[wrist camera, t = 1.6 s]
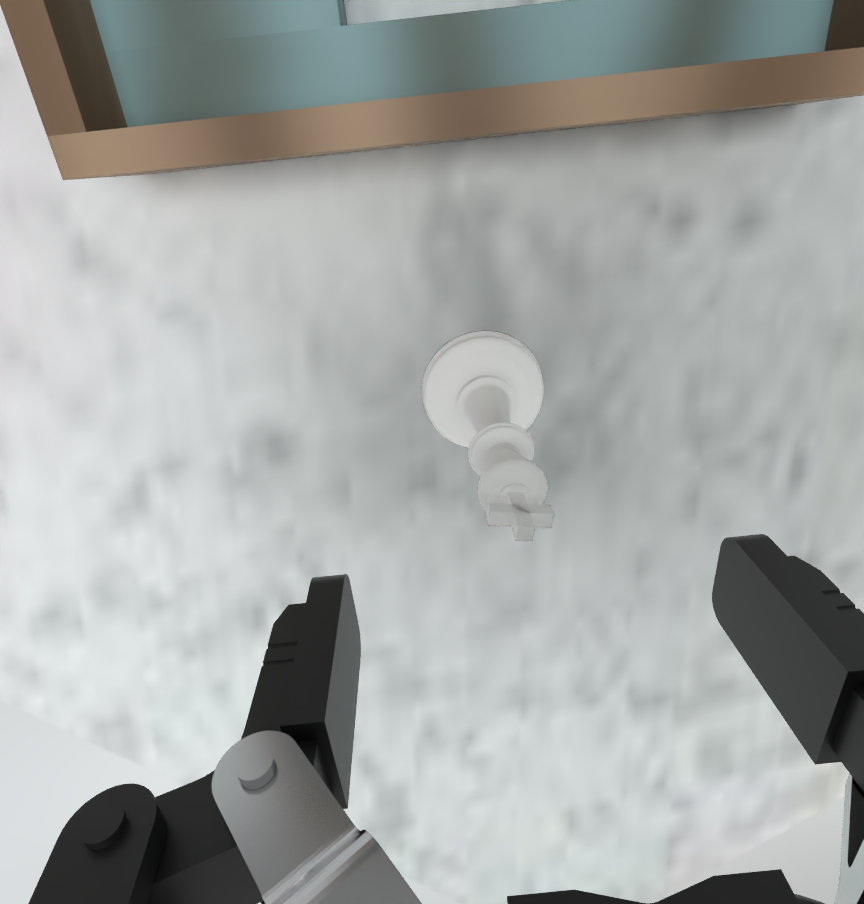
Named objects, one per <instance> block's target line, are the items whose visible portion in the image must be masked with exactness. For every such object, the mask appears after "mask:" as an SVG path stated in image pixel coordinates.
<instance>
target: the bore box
mask: <svg viewBox="0 0 864 904" xmlns="http://www.w3.org/2000/svg"><path fill="white" fill-rule="evenodd" d="M0 5H1V8H2V11H3V14H4V16H5V19H6V22H7V25H8V28H9V30H10V33H11V36H12V39H13V42H14V44H15V47H16V50H17V53H18V56H19V58H20V61H21V64H22V67H23V70H24V72H25V75H26V78H27V81H28V84H29V86H30V89H31V92H32V95H33V98H34V100H35V103H36V106H37V109H38V112H39V114H40V117H41V120H42V123H43V126H44V128H45V131H46V134H47V137H48V140H49V142H50V145H51V148H52V151H53V154H54V156H55V159H56V162H57V165H58V168H59V170H60V173H61V176H62V179H63V180H70V179H85V178H100V177H115V176H130V175H144V174H153V173H163V172H172V171H181V170H190V169H200V168H209V167H218V166H228V165H237V164H246V163H255V162H265V161H274V160H283V159H292V158H302V157H311V156H320V155H330V154H339V153H348V152H357V151H367V150H376V149H385V148H395V147H404V146H413V145H422V144H432V143H441V142H450V141H459V140H469V139H478V138H487V137H497V136H506V135H515V134H524V133H534V132H543V131H552V130H562V129H571V128H580V127H589V126H599V125H608V124H617V123H626V122H636V121H645V120H654V119H664V118H673V117H682V116H691V115H701V114H710V113H719V112H729V111H738V110H747V109H756V108H766V107H775V106H784V105H793V104H802V103H809V102H816V101H824V100H831V99H839V98H846V97H853V96H861V95H864V0H569V1H560V2H551V3H542V4H533V5H524V6H515V7H506V8H498V9H489V10H480V11H471V12H462V13H453V14H444V15H435V16H426V17H417V18H408V19H399V20H390V21H381V22H372V23H363V24H354V25H347V21H346V13H345V6H344V0H0Z"/></svg>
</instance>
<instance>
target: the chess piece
mask: <svg viewBox="0 0 864 904" xmlns="http://www.w3.org/2000/svg"><path fill="white" fill-rule="evenodd" d="M543 393H544V386H543V379H542V373H541V369H540V366H539V364H538V362H537V360H536V358H535V357H534V355H533V354H532V352H531V351H530V350H529V349H528V348H527V347H526V346H525V345H524V344H523V343H521V342H520V341H519V340H517V339H515V338H513V337H511V336H509V335H506V334H503V333H500V332H494V331H476V332H471V333H467V334H464V335H461V336H459V337H457V338H455V339H453V340H451V341H450V342H448V343H447V344H445V345H444V346H443V347H442V348H441V349H440V350H439V351H438V352H437V353H436V354H435V355H434V357H433V358H432V359H431V361H430V363H429V364H428V366H427V369H426V371H425V374H424V377H423V382H422V399H423V404H424V407H425V410H426V413H427V415H428V417H429V419H430V421H431V423H432V424H433V426H434V427H435V428H436V430H437V431H438V432H439V433H440V434H441V435H442V436H444V437H445V438H446V439H448V440H449V441H451V442H453V443H455V444H457V445H460V446H463V447H466V448H468V459H469V463H470V465H471V467H472V468H473V470H474V471H475V472H476V473H477V474H478V475H479V476H480V480H479V483H478V488H477V495H478V500H479V503H480V505H481V506H482V508H483V509H484V510H485V511H486V512H487V516H486V517H487V522H488V526H512V529H513V532H514V536H515V540H516V541H533V536H534V531H535V527H543V528H552V523H553V518H554V512H553V510H552V507H551V505H543V503H544V501H545V499H546V497H547V493H548V483H547V479H546V477H545V475H544V473H543V472H542V470H541V469H540V468H539V467H538V466H537V465H536V464H534V463H533V462H532V460H533V456H534V444H533V440H532V438H531V436H530V435H529V433H528V432H527V431H526V430H527V429H528V428H529V427H530V426H531V425H532V423H533V422H534V420H535V419H536V417H537V415H538V413H539V411H540V408H541V405H542V401H543Z"/></svg>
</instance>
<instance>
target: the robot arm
mask: <svg viewBox="0 0 864 904" xmlns="http://www.w3.org/2000/svg"><path fill="white" fill-rule="evenodd" d="M712 602H713V608H714V611H715V614H716V617H717V619H718V621H719V623H720V625H721V626H722V627H723V629H724V630H725V632H726V633H727V635H728V636H729V638H730V639H731V641H732V642H733V644H734V645H735V647H736V648H737V650H738V651H739V653H740V654H741V656H742V657H743V659H744V660H745V661H746V663H747V664H748V666H749V667H750V669H751V670H752V672H753V673H754V675H755V676H756V678H757V679H758V681H759V682H760V684H761V685H762V687H763V688H764V690H765V691H766V693H767V694H768V695H769V697H770V698H771V700H772V701H773V703H774V704H775V706H776V707H777V709H778V710H779V712H780V713H781V715H782V716H783V718H784V719H785V721H786V722H787V724H788V725H789V726H790V728H791V729H792V731H793V732H794V734H795V735H796V737H797V738H798V740H799V741H800V743H801V744H802V746H803V747H804V749H805V750H806V752H807V753H808V755H809V756H810V758H811V759H812V760H813V762H814V763H815V764H823V763H833V762H842V763H843V764H844V766H845V767H846V769H847V770H848V771H849V773H850V774H849V776H848V779H847V781H846V786H845V802H844V817H843V834H842V848H841V863H840V877H839V884H838V891H837V895H836V899H835V902H834V904H864V613H863V612H862V611H861V610H860V609H856V608H855V604H854V603H853V602H852V601H851V600H850V599H849V598H848V597H847V596H846V595H845V594H844V593H840V591H839V589H838V588H837V587H836V586H835V585H834V584H833V583H832V582H831V581H830V580H829V579H828V578H827V577H826V576H825V575H824V574H823V573H822V572H821V571H820V570H818V569H817V568H815V567H813V566H811V565H810V564H808V563H806V562H805V561H803V560H801V559H799V558H798V557H796V556H786V555H785V553H784V552H783V551H782V550H781V549H780V548H779V547H778V546H777V545H776V544H775V543H774V542H773V541H772V540H771V539H770V538H769V537H768V536H766V535H763V534H759V535H749V536H739V537H729V538H725V539H724V540H723V542H722V544H721V548H720V553H719V559H718V564H717V570H716V575H715V580H714V586H713V592H712ZM360 656H361V643H360V631H359V625H358V620H357V615H356V610H355V605H354V600H353V595H352V590H351V585H350V580H349V577H348V575H347V574H345V575H335V576H325V577H315V578H312V580H311V583H310V587H309V592H308V596H307V601H306V603H302V604H292V605H288V606H287V607H286V609H285V610H284V611H283V613H282V614H281V615H280V616H279V618H278V619H277V620H276V622H275V623H274V625H273V628H272V632H271V635H270V639H269V643H268V649H267V650H266V654H265V657H264V661H263V666H262V668H261V672H260V675H259V679H258V682H257V686H256V690H255V693H254V697H253V701H252V704H251V708H250V711H249V715H248V719H247V722H246V726H245V729H244V733H243V735H242V738H241V740H240V741H238V742H237V743H236V744H234V745H233V746H232V747H231V748H230V749H229V750H228V751H227V752H226V753H225V754H224V756H223V757H222V758H221V760H220V761H219V763H218V765H217V767H216V769H215V770H214V771H213V772H211V773H210V774H208V775H206V776H205V777H203V778H201V779H199V780H196V781H194V782H192V783H189V784H187V785H184V786H182V787H179V788H177V789H175V790H172V791H170V792H167V793H165V794H162V795H160V796H157V797H154V795H153V794H152V793H151V791H150V790H149V789H147V788H146V787H144V786H141V785H138V784H123V785H119V786H115V787H112V788H109V789H107V790H105V791H103V792H101V793H100V794H98V795H96V796H95V797H93V798H92V799H90V800H89V801H88V802H86V803H85V804H84V805H83V806H82V807H81V808H80V809H79V810H78V811H77V812H75V814H74V815H73V816H72V817H71V818H70V820H69V821H68V822H67V824H66V825H65V827H64V828H63V830H62V832H61V834H60V836H59V837H58V840H57V842H56V844H55V846H54V849H53V851H52V853H51V855H50V857H49V860H48V862H47V864H46V866H45V869H44V871H43V873H42V875H41V877H40V879H39V882H38V884H37V887H36V888H35V891H34V893H33V895H32V897H31V899H30V902H29V904H257V903H259V902H261V904H422V903H421V902H420V901H419V899H418V898H417V896H416V895H415V894H414V892H413V891H412V889H411V888H410V887H409V885H408V884H407V882H406V881H405V880H404V878H403V877H402V876H401V874H400V873H399V871H398V870H397V869H396V867H395V866H394V864H393V863H392V862H391V860H390V859H389V858H388V856H387V855H386V853H385V852H384V851H383V849H382V848H381V846H380V845H379V844H378V842H377V841H376V840H375V839H374V838H373V836H372V835H371V834H370V833H369V832H367V831H366V830H362V831H359V830H358V829H357V828H356V827H355V825H354V824H353V823H352V821H351V820H350V819H349V817H348V816H347V814H346V813H345V811H344V810H343V809H346V808H348V798H349V786H350V775H351V763H352V751H353V739H354V728H355V716H356V704H357V692H358V681H359V669H360ZM507 903H508V904H646V903H640V902H635V901H629V900H624V899H619V898H614V897H609V896H604V895H599V894H593V893H588V892H583V891H578V890H567V891H557V892H547V893H537V894H527V895H516V896H507ZM650 904H824V903H822V902H819V901H816V900H813V899H810V898H807V897H804V896H801V895H797V894H794V893H793V891H792V890H791V888H790V886H789V884H788V882H787V880H786V878H785V876H784V874H783V872H782V871H781V869H780V870H770V871H760V872H750V873H739V874H730V875H719V876H713V877H710V878H709V879H706V880H704V881H702V882H700V883H698V884H695V885H693V886H691V887H689V888H687V889H684V890H682V891H680V892H678V893H676V894H674V895H671V896H669V897H667V898H665V899H663V900H660V901H658V902H655V903H650Z"/></svg>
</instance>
